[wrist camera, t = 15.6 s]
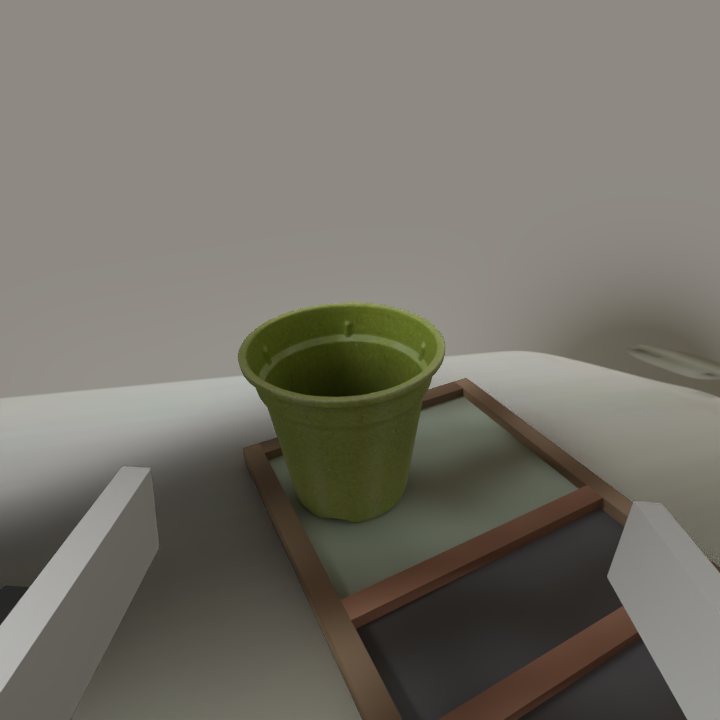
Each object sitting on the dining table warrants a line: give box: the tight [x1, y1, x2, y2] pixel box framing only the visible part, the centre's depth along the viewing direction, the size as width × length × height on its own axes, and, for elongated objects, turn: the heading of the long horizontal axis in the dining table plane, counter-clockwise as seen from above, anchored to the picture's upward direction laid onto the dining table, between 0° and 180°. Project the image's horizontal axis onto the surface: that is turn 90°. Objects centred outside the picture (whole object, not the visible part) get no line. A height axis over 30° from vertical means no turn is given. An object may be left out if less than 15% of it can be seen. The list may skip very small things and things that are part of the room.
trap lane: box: [243, 378, 720, 720], centre depth 20 cm, size 33×16×1 cm, turn 27°
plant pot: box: [238, 302, 445, 522], centre depth 25 cm, size 9×9×9 cm
